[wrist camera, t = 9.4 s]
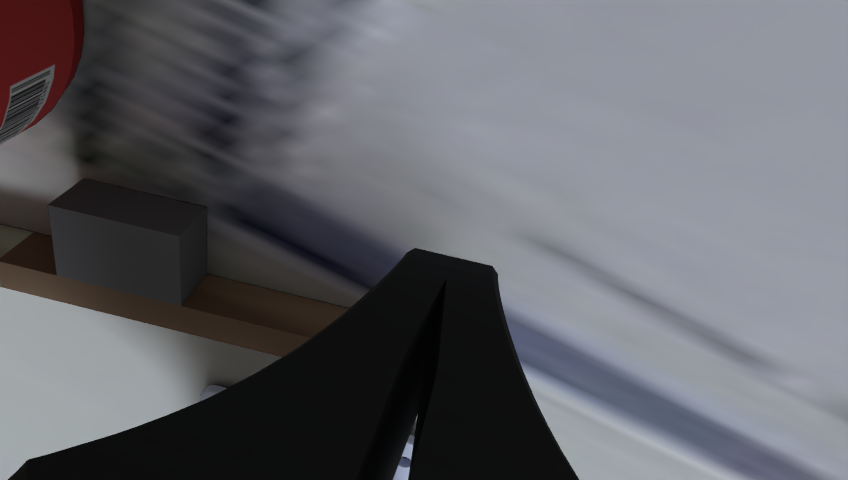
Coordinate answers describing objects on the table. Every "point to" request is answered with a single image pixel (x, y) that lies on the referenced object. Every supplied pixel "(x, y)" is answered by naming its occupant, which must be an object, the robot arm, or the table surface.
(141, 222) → the trap blocks
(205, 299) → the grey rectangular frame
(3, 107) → the canned food
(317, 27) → the table surface
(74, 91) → the table surface
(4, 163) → the table surface
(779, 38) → the table surface
